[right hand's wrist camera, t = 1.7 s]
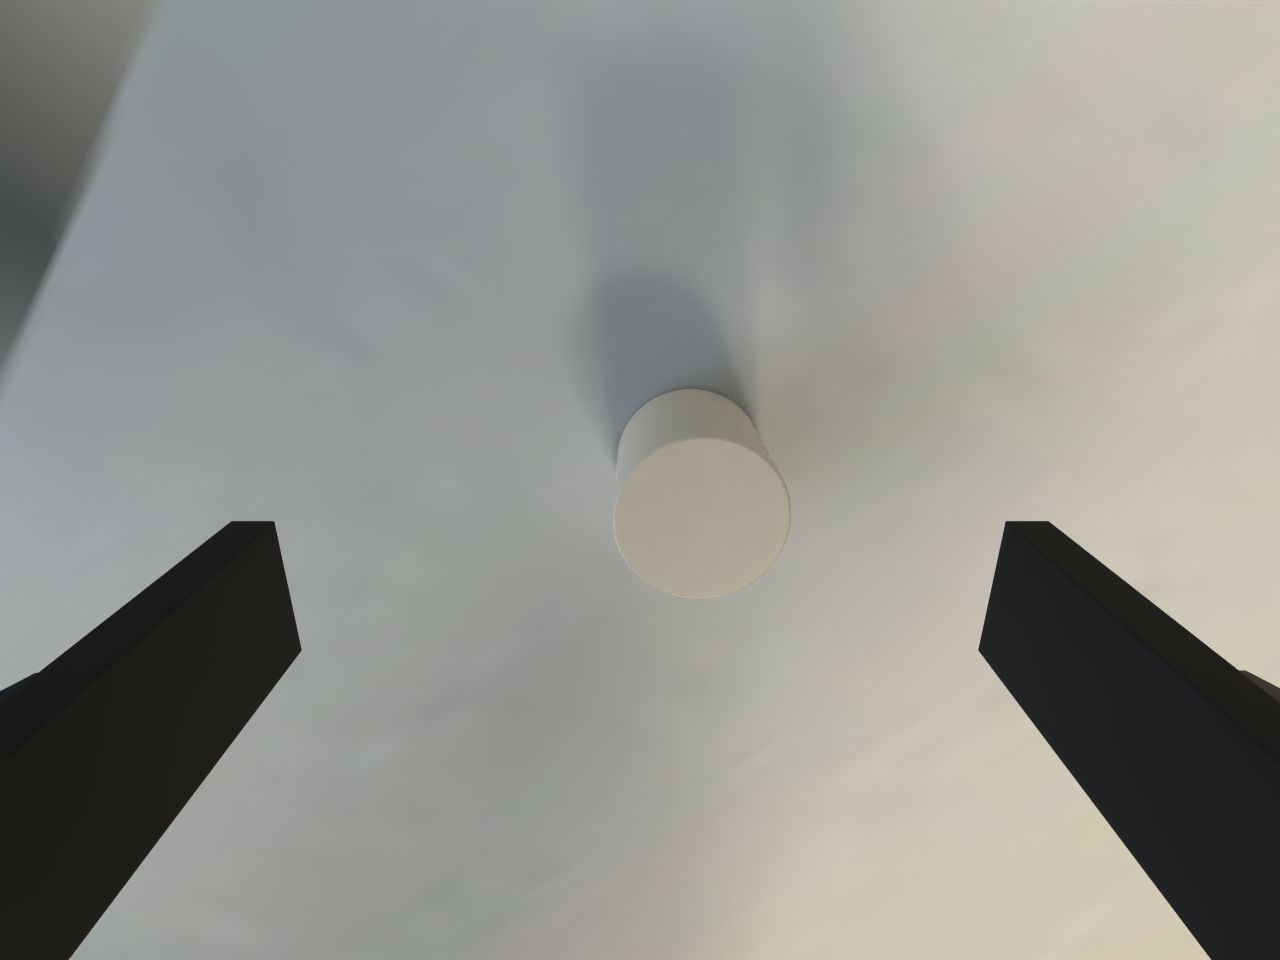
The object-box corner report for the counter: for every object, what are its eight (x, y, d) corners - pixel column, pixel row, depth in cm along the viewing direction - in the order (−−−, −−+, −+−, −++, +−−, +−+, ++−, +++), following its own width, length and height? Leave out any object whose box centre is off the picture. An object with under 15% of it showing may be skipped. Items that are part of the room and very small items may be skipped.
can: (703, 358, 20) (721, 398, 16) (788, 468, 21) (826, 534, 17) (588, 447, 21) (575, 508, 17) (675, 548, 22) (684, 629, 18)
